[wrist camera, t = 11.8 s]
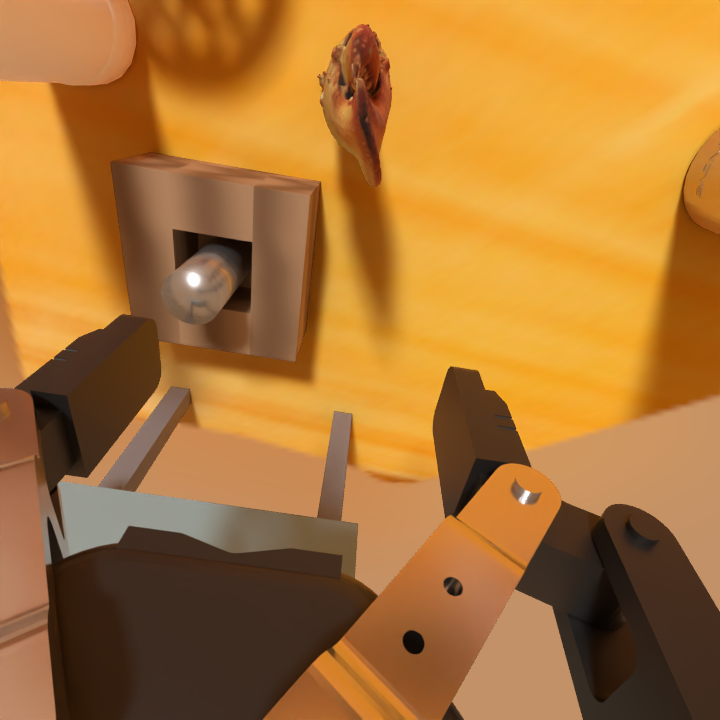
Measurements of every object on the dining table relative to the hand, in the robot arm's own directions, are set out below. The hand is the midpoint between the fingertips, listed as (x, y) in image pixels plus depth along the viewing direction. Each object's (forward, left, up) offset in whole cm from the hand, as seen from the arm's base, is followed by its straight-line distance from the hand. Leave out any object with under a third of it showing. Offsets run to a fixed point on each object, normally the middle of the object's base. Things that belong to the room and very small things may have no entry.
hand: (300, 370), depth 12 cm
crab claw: (+1, -6, -28) cm, 29 cm away
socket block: (+10, +7, -28) cm, 31 cm away
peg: (+10, +7, -27) cm, 30 cm away
